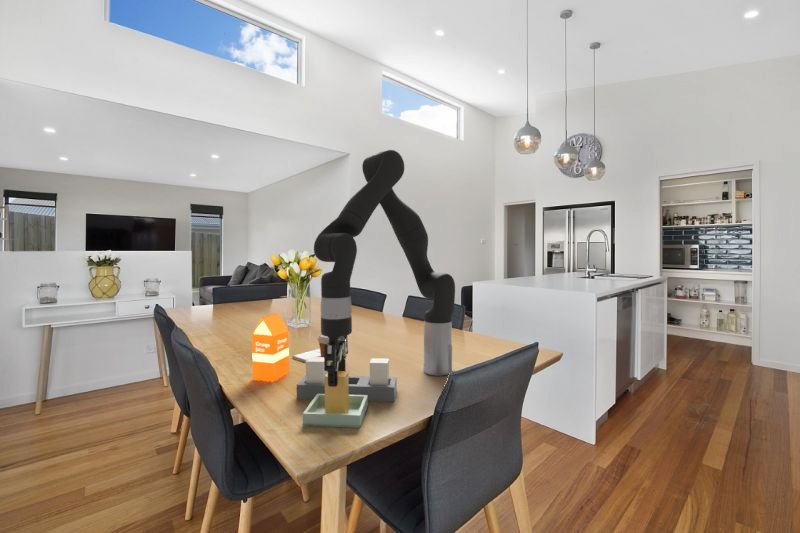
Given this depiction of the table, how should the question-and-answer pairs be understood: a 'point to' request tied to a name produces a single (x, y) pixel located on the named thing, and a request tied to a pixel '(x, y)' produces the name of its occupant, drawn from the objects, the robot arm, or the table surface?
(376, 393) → the rack
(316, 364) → the fuse
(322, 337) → the disposable coffee cup
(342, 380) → the tan rectangular block
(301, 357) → the external hard drive
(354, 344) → the table surface
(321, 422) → the tray
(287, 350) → the orange juice
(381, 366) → the fuse
